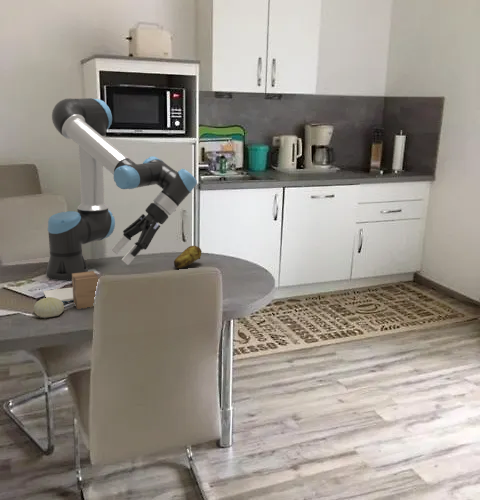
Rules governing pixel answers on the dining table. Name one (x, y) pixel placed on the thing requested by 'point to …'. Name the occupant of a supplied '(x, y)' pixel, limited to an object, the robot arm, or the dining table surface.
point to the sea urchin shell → (48, 307)
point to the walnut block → (84, 288)
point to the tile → (60, 294)
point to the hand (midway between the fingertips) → (119, 257)
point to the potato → (188, 257)
